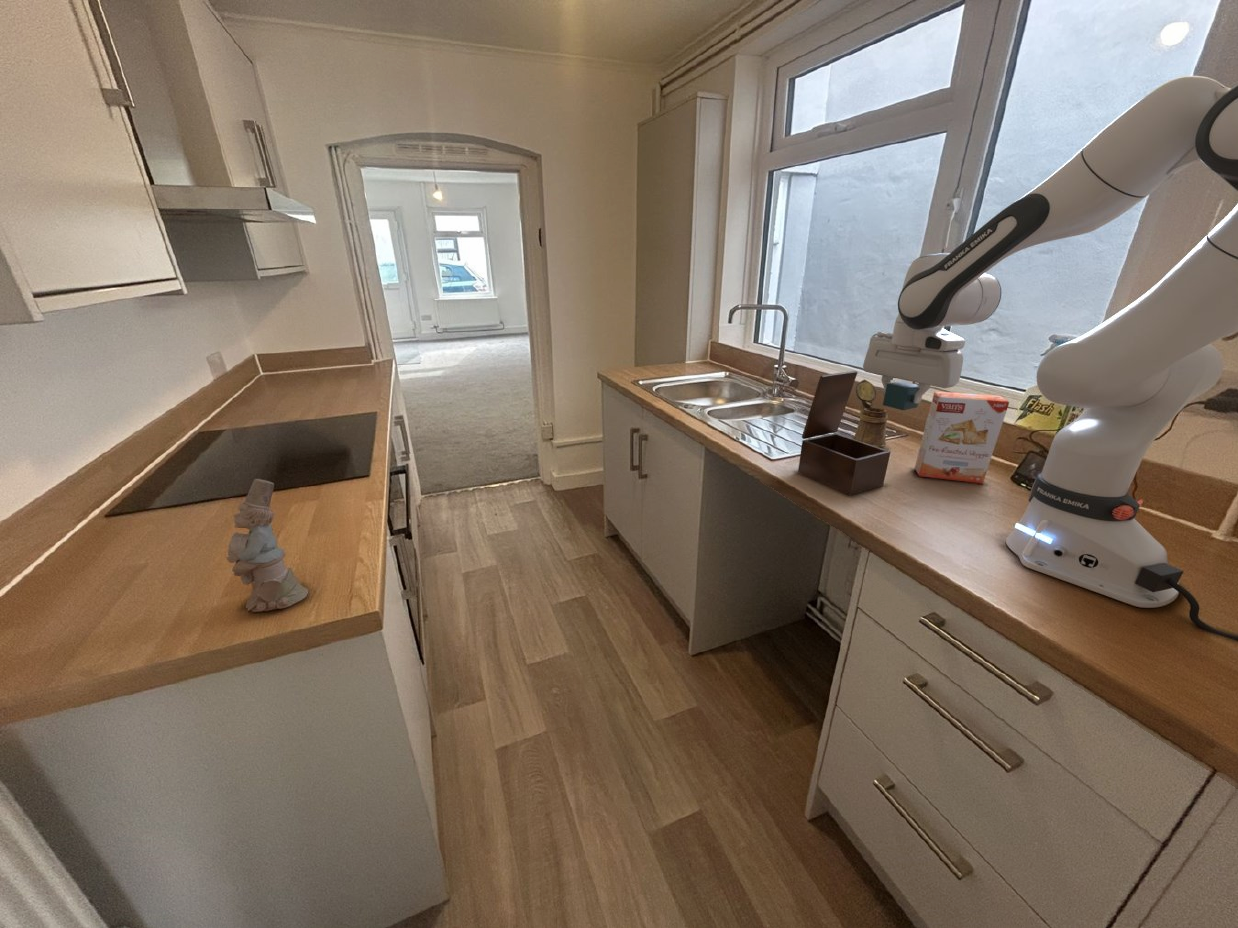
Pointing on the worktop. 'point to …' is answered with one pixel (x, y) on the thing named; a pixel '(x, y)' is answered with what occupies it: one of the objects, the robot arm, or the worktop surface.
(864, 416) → the wooden mug
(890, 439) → the worktop surface
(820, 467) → the chest
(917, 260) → the robot arm
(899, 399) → the block
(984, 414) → the cracker box
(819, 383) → the lid
